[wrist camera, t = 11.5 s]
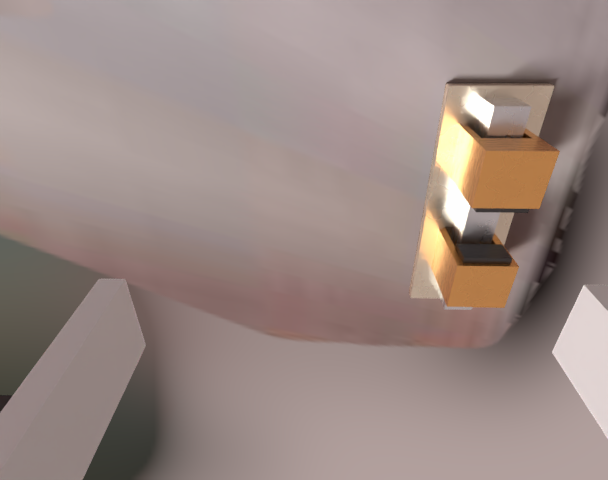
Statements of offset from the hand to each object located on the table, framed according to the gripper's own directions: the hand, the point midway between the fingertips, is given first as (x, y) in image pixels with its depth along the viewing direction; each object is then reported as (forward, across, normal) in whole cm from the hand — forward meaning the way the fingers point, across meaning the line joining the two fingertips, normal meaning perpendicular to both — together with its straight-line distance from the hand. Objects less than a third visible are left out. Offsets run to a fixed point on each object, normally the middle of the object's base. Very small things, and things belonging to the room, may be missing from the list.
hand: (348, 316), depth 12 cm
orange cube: (+28, +15, -16) cm, 35 cm away
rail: (+29, +15, -11) cm, 34 cm away
